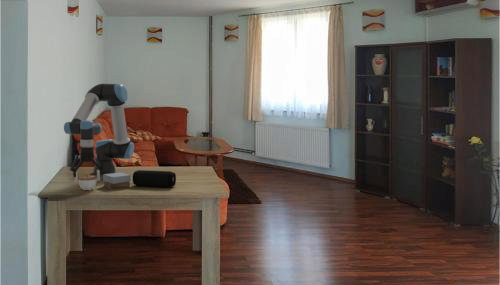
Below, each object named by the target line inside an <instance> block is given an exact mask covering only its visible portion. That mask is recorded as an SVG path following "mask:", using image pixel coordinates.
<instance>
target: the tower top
mask: <svg viewBox="0 0 500 285" xmlns="http://www.w3.org/2000/svg"><path fill="white" fill-rule="evenodd" d="M102 179H103V180H102V181H103V182H104V181H105V182H109V183H112V184H116V183H123V182H130V183H131V179H132V178H131V174H128V173H125V172H124V173H123V172H115V173H111V174H102Z"/></svg>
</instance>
